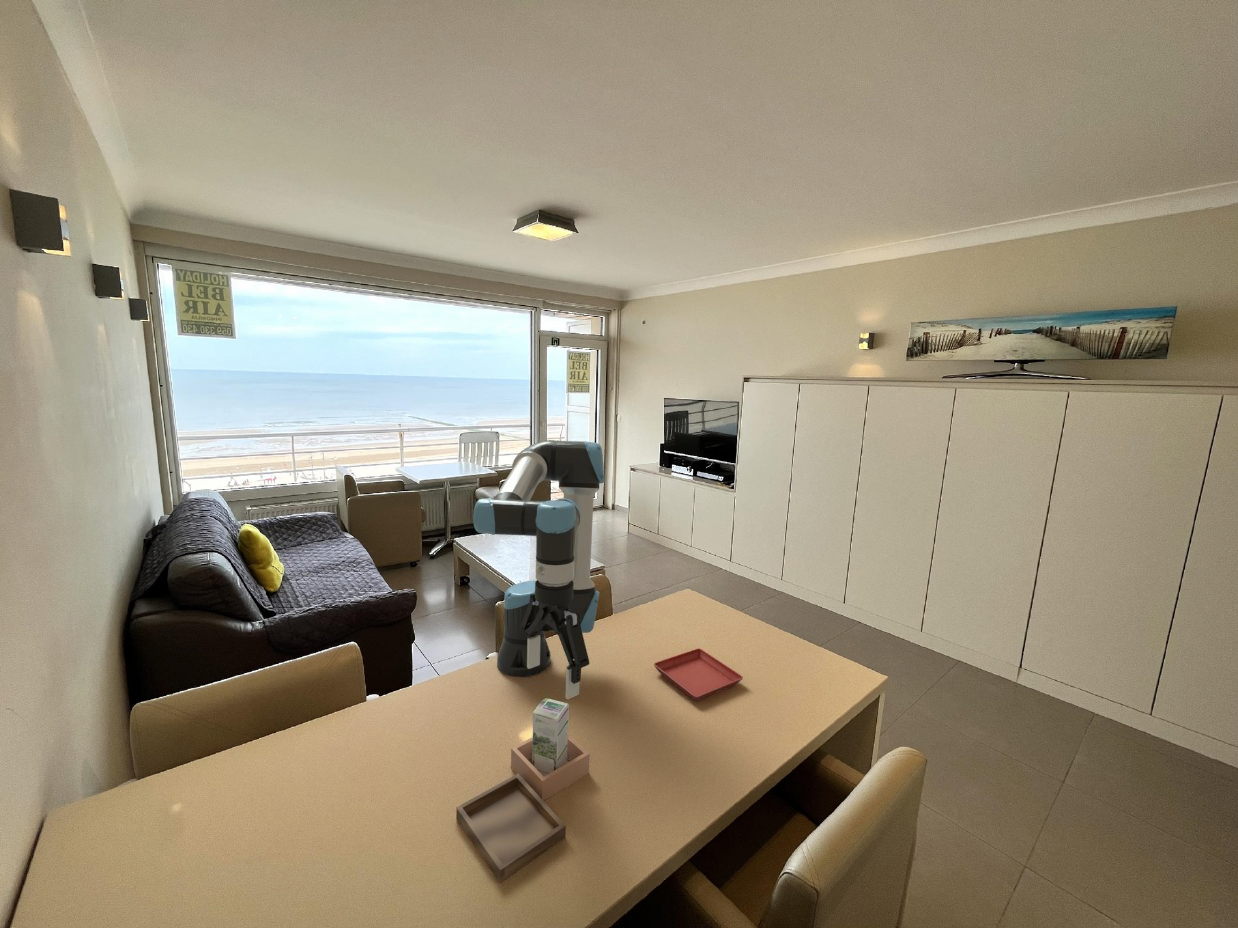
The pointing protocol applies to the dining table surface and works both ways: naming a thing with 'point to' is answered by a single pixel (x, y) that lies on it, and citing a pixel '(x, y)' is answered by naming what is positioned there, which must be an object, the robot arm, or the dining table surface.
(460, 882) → the dining table surface
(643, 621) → the dining table surface
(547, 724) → the syrup box
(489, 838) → the tray
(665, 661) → the plant saucer
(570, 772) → the holder
